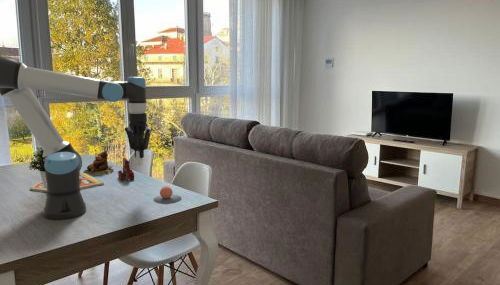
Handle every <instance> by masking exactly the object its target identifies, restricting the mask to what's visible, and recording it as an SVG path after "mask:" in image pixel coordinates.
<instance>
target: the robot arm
mask: <svg viewBox="0 0 500 285" xmlns="http://www.w3.org/2000/svg"><path fill="white" fill-rule="evenodd" d="M146 85H147V84H146V78H144V77H143V76H128V77H127V80H126V81H124V80H123V81H119V80H118V81H116V80H115V81H114V80H105V79H104V80H103V79H97V78H93V77H86V76H81V75H76V74H71V73H70V74H69V73H64V72H59V71H55V70H54V71H53V70H48V69H44V68H37V67H30V66H27V65H26V64H25V62H24V63H23V62H21V61H19V60H17V59H16V58H13V57H11V56H5V55H4V56H2V55H0V96H1V97H2V98H6V99H8V100H9V101H10V102H11V104H12V106H13V108H14V109H15V110H16V111H17V113H18V115H19V116H20V118H21V119H22V121H23V122H24V124H25V125H26V127H27V128H28V130H29V131H30V133H31V134H32V135H33V137H34V139H35V140H36V141H37V143H38V145H39V146H40V148H41V149H42V151H43V153H42V158H43V160H44V164H43V166H44V172H45V180H46V185H47V192H46V193H47V194H46V200H45V206H44V208H43V217H44V218H45V219H48V220H67V219H72V218H77V217H78V216H81V215H83V214H84V213H85V212H87V204H86V203H85V200H84V198H83V195H82V194H81V189H80V181H79V172H80V173H81V169H82V167H83V160H82V156H81V154H80V153H79V152H78V151H76V150H75V149H74V147H73V145H72V144H71V142H70V141H66V140H64V138H63V136H61V134H60V132H59V131H58V130H57V127H56V126H55V125H54V123H53V121H52V120H51V119H50V117H49V115H48V114H47V112H46V110H45V109H44V107H43V106H42V104H41V103H40V101H39V100H38V98H37V96H36V95H35V93H34V92H33V90H38V91H39V90H40V91H46V92H51V93H59V94H63V95H64V94H65V95H72V96H76V97H77V96H78V97H83V98H84V97H85V98H91V99H97V100H102V101H107V102H110V103H111V102H112V103H116V102H119V101H120V100H127V102H128V112H129V113H128V121H129V124H128V126H127V127H125V128H124V131H125V133H126V135H127V139H128V144H129V147H130V148H129V149H130V150H134V158H135V161H136V163H135V164H136V166H141V165H143V163H144V160H143V158H144V157H145V150H148V148H149V143H150V138H151V134H152V131H153V129H152V128H149V127H148V124H147V121H148V116H147V115H148V114H147V87H146ZM32 89H33V90H32Z"/></svg>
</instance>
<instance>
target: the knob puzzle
mask: <svg viewBox="0 0 500 285" xmlns="http://www.w3.org/2000/svg"><path fill="white" fill-rule="evenodd" d="M42 181H43V180H41V181H38V182H37V183H34V184H33V185H31V187H30V191H32V192H40V193H41V192H42V193H47V188H45V187H44V185H43V183H42ZM79 181H80V190H84V189H85V190H86V189H89V188H90V189H91V188H95V187H100V186H104V185H105V182H103V181H101V180H100V179H98V178H96V177H94V176H93V175H90V174H86V173H84V172H82V173H81V171H80V172H79Z"/></svg>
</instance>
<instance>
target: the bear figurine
mask: <svg viewBox="0 0 500 285" xmlns="http://www.w3.org/2000/svg"><path fill="white" fill-rule="evenodd" d="M113 167H114V166H113V165H109V164H108V151H107V150H104V151H101V152H98V154H97V156H96V155H95V159H94V160H93V162H91V163H90V164H89V165H87V167H86V169H84V170H83V173H86V174H88V175H90V176H93V175H94V176H98V175H99V176H100V175H106V174H108V175H111V174H112V172H113V171H114V168H113Z"/></svg>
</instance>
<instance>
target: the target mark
mask: <svg viewBox="0 0 500 285" xmlns="http://www.w3.org/2000/svg"><path fill="white" fill-rule="evenodd" d="M181 200H182V196H181V195H178V194H173V193H172V196H171V197H170V198H168V199H164V198H162V197H161V195H160V194H159V195H158V196H156V197H154V198H153V201H154V202H155V203H158V204H175V203H177V202H181Z"/></svg>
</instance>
